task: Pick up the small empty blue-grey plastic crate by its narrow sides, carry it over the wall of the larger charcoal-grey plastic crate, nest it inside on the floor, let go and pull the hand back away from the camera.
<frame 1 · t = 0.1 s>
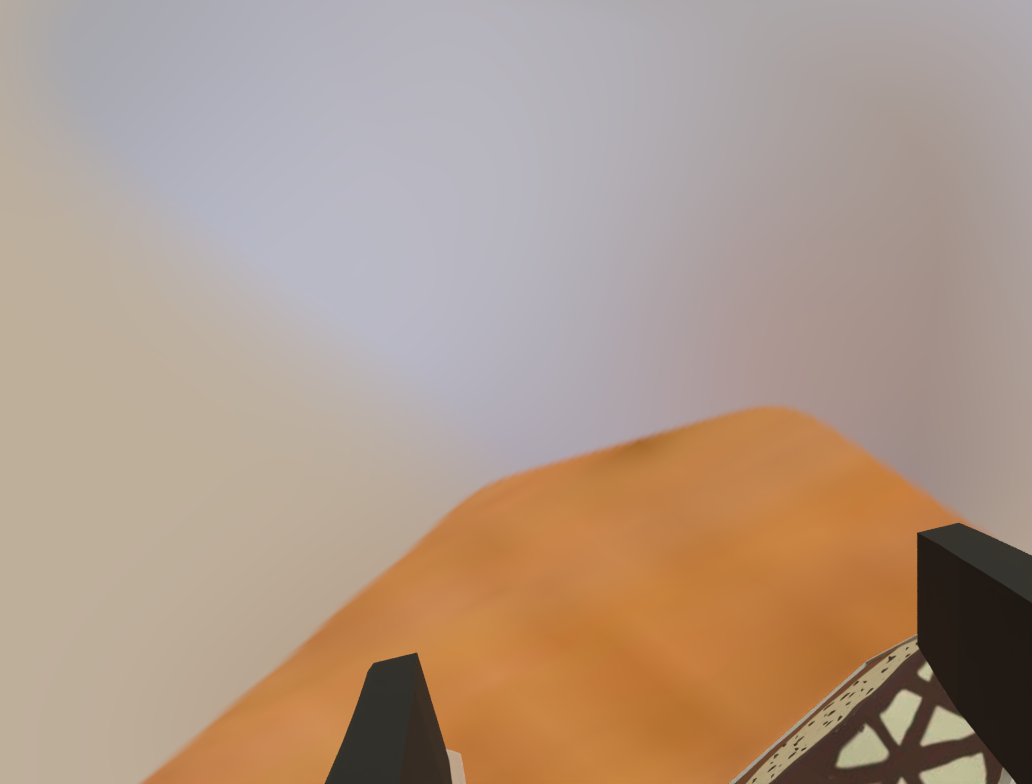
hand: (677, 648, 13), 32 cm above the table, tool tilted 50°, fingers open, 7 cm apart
food container: (842, 781, 41), on the table
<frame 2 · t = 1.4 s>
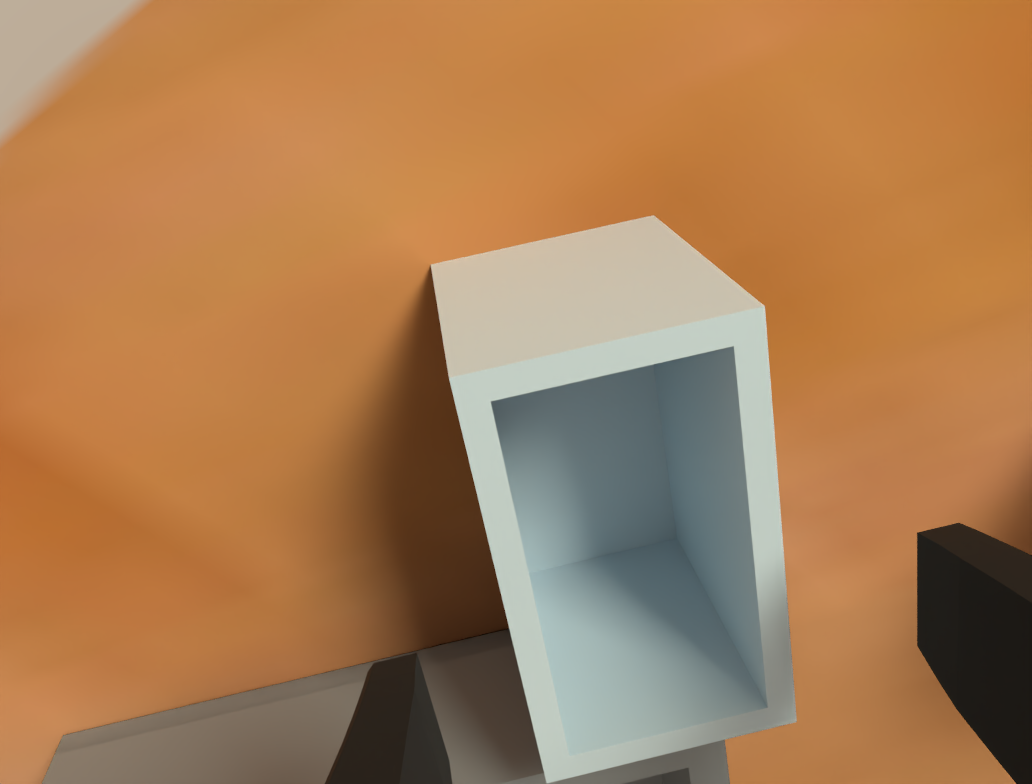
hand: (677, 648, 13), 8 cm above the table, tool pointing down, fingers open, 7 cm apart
small crate: (573, 413, 20), on the table
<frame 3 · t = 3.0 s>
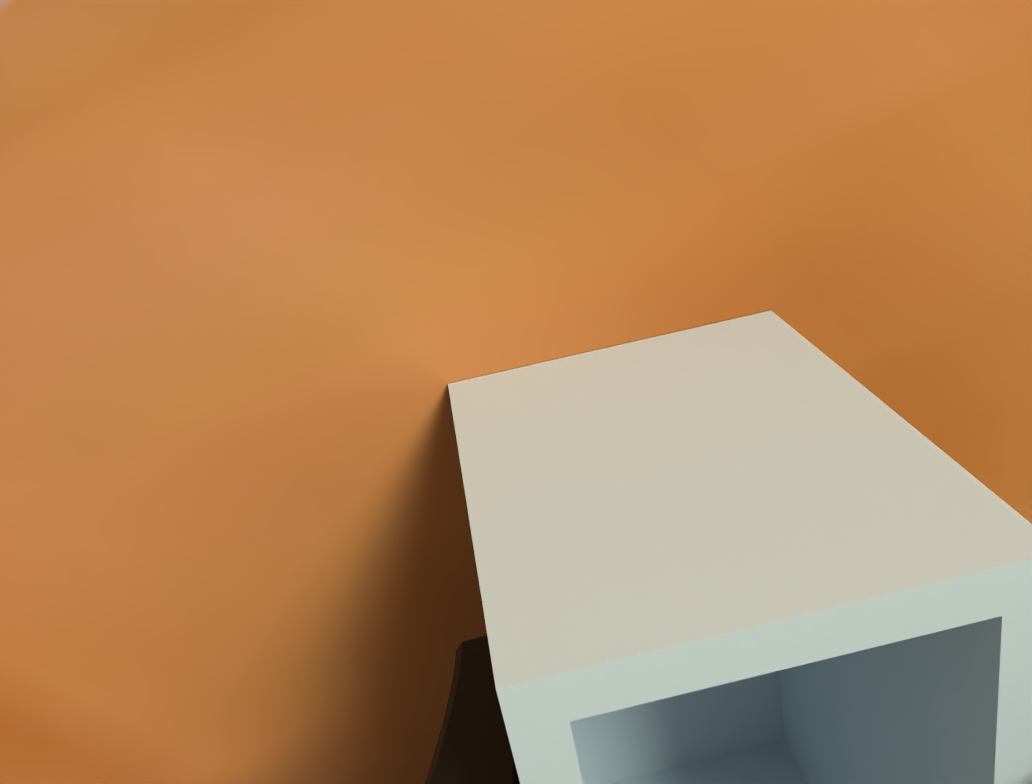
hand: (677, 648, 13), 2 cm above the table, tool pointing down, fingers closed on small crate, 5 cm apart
small crate: (646, 579, 14), on the table, touching gripper
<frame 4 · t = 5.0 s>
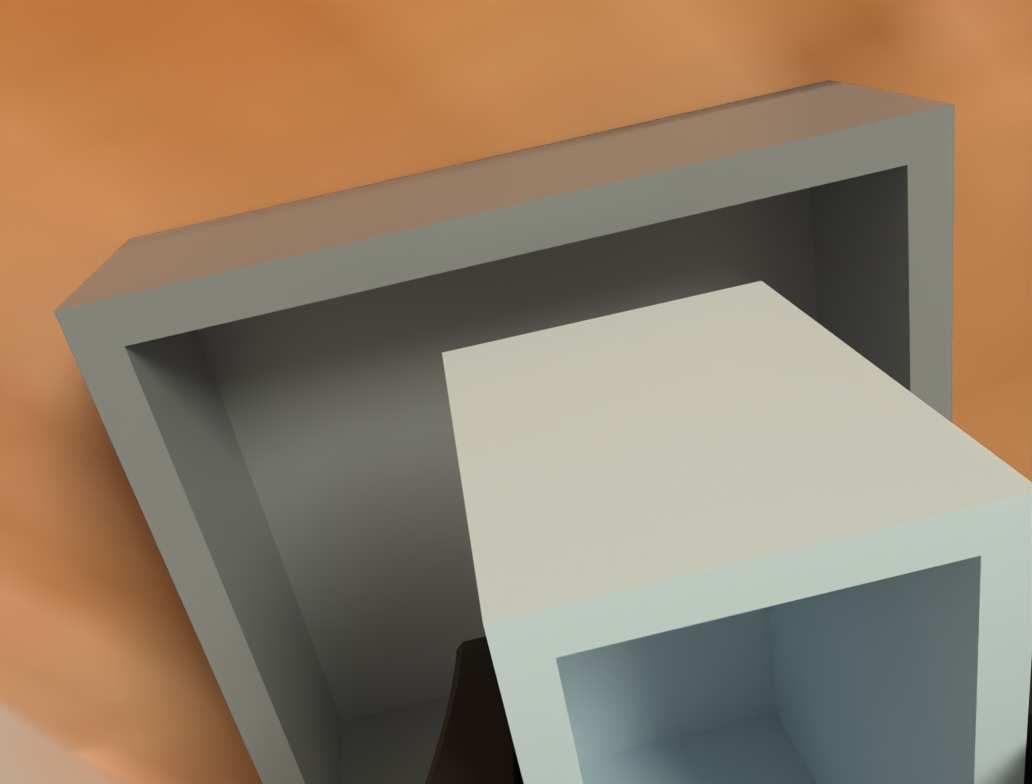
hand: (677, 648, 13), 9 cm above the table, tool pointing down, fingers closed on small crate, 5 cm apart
small crate: (639, 551, 14), point 7 cm above the table, touching gripper
big crate: (545, 447, 21), on the table
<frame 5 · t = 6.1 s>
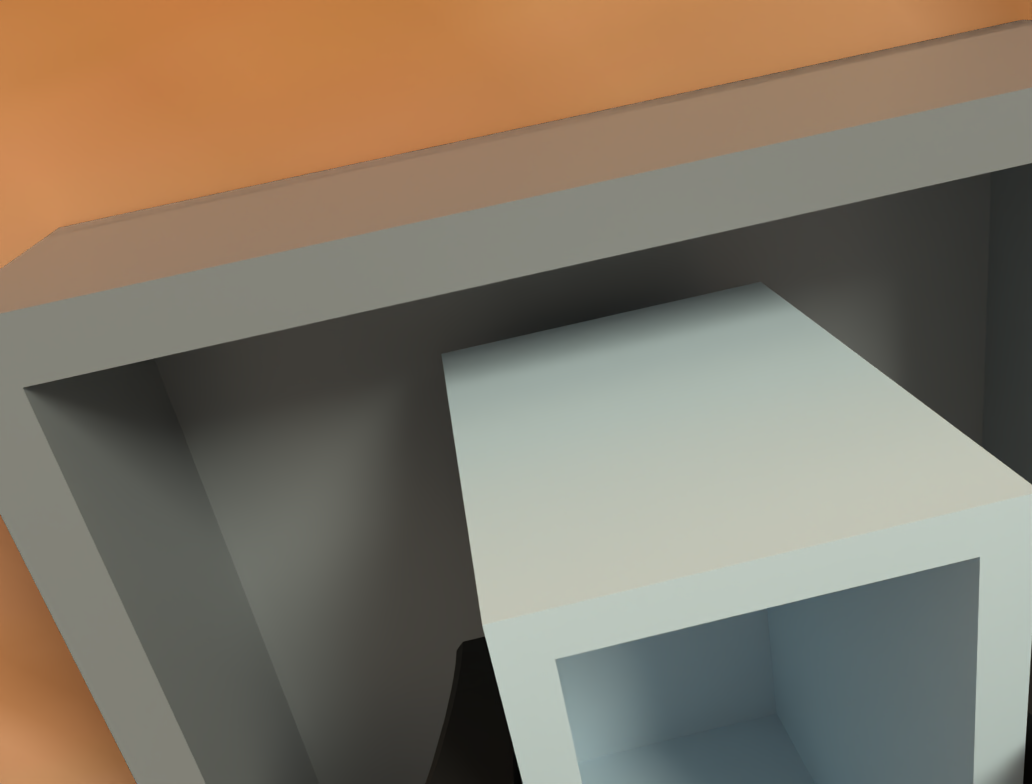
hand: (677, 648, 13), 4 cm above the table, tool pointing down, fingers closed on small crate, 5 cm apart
small crate: (639, 552, 14), point 2 cm above the table, touching gripper
big crate: (615, 507, 16), on the table
when the fingers open (4 cm above the table, at t = 7.0 s): small crate drops 1 cm, resting on big crate.
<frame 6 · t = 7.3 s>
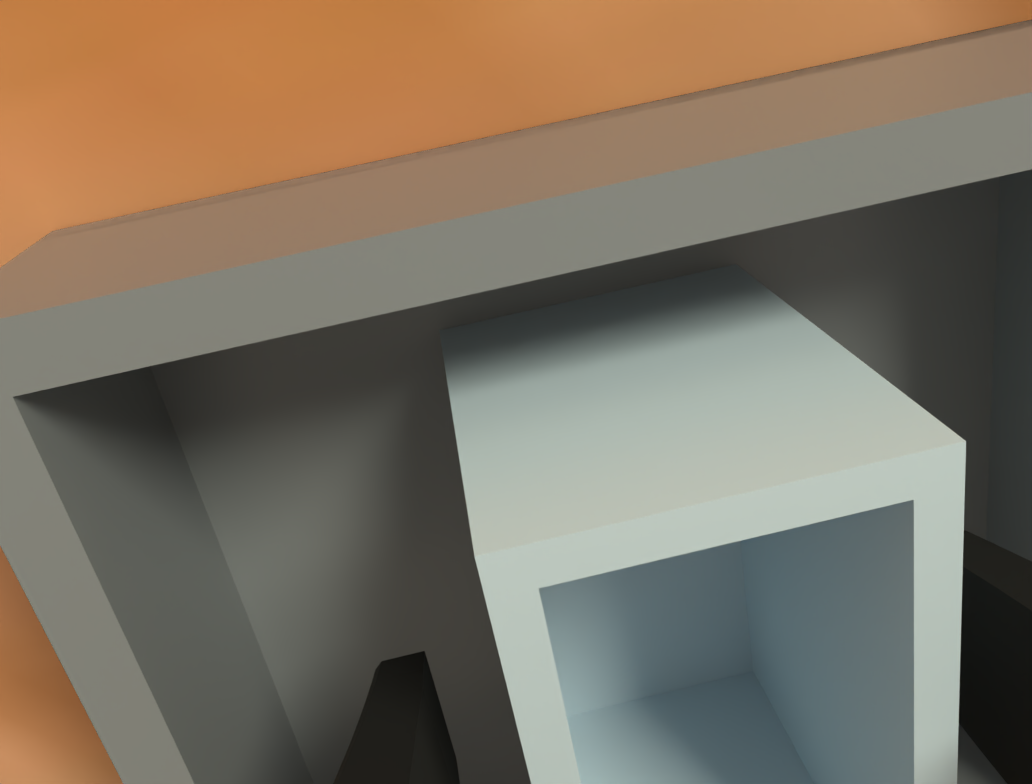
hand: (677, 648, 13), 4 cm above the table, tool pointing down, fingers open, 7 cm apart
small crate: (624, 518, 15), point 1 cm above the table, touching big crate
big crate: (618, 514, 16), on the table
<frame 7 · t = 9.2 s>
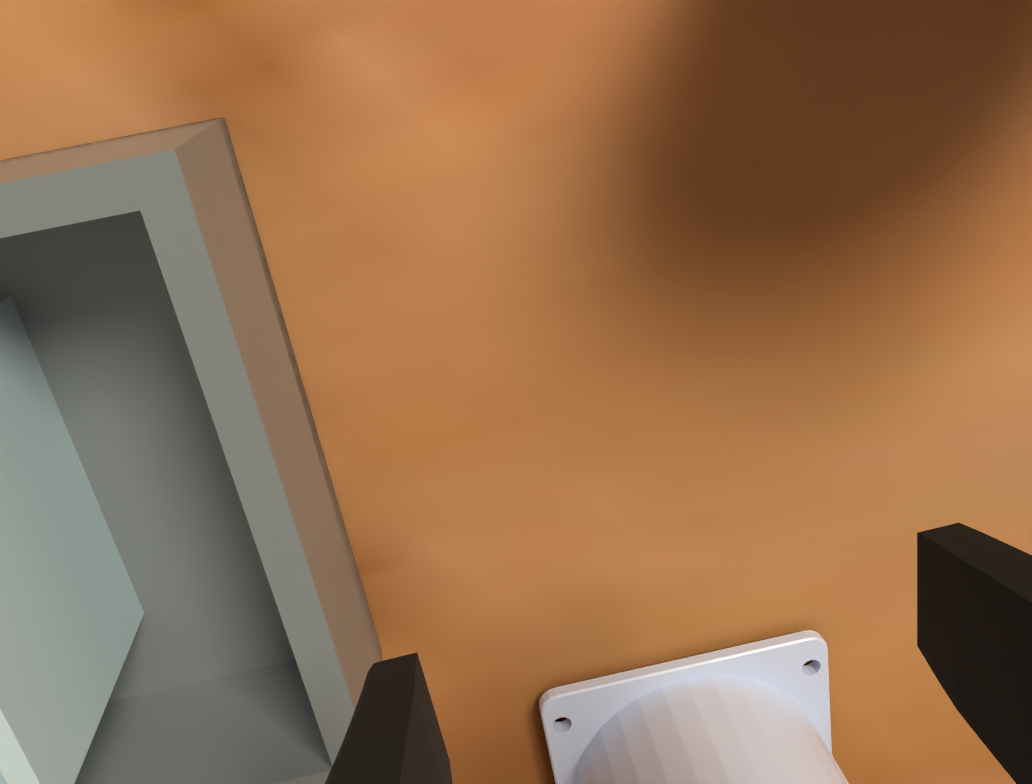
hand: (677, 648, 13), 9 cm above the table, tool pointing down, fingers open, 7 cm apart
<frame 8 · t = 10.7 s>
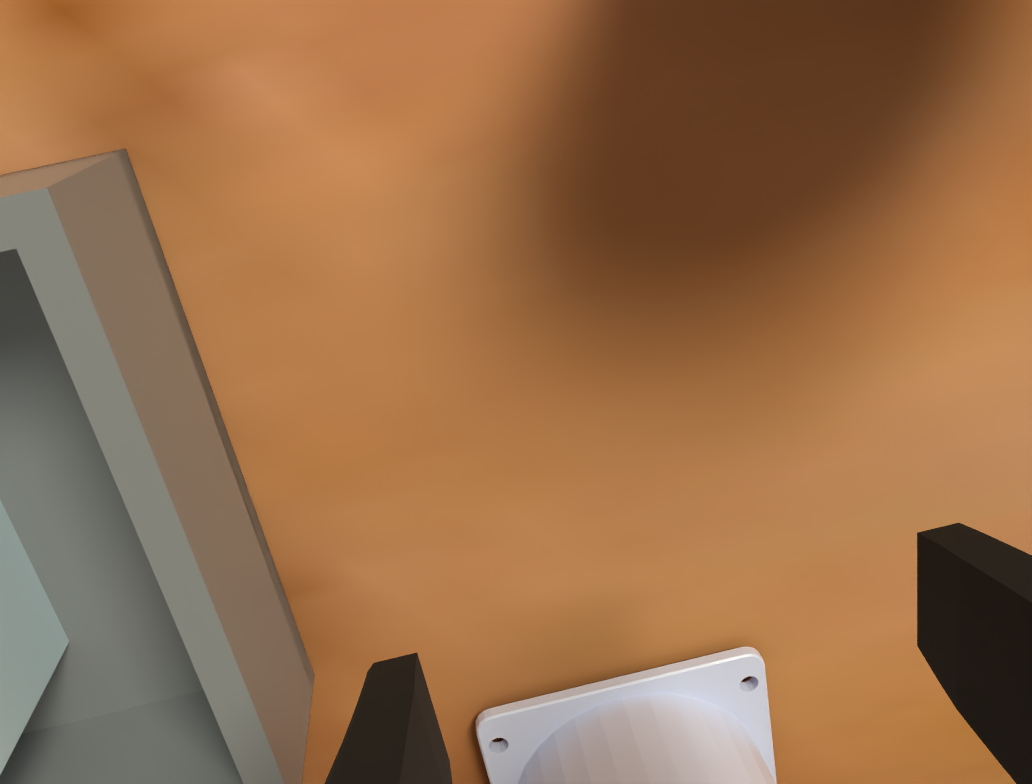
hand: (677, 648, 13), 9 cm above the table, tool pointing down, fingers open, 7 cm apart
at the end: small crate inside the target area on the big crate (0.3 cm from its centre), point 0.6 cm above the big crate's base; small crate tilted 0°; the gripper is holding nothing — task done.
